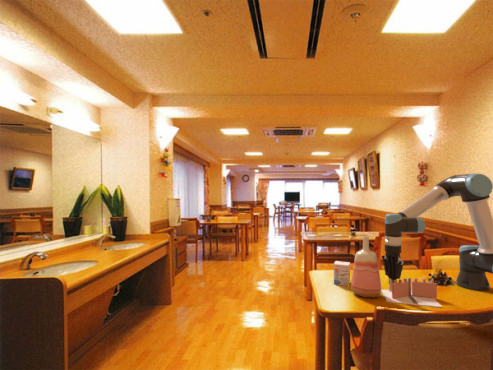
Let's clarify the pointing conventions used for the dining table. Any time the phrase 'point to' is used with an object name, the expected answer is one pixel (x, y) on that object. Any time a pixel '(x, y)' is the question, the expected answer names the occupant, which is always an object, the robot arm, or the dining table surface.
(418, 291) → the fixed fence panel
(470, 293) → the dining table surface
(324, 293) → the dining table surface
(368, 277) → the vase
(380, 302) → the dining table surface
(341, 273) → the ink box
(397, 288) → the folding fence panel
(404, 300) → the card
